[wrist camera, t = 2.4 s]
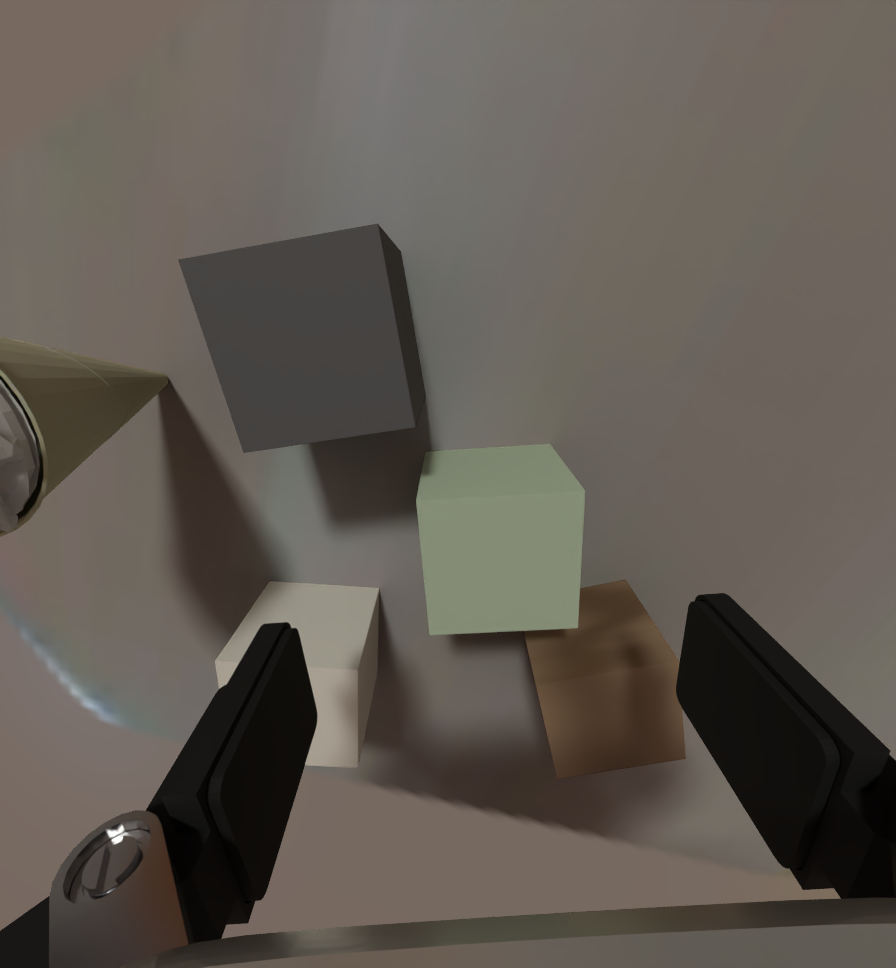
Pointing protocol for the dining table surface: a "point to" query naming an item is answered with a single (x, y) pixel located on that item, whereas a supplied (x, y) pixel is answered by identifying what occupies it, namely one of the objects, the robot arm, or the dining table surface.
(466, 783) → the dining table surface
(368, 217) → the dining table surface
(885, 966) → the robot arm
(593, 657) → the walnut block
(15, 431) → the ice cream cone
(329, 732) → the offwhite block
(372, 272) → the black block
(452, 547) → the sage block
